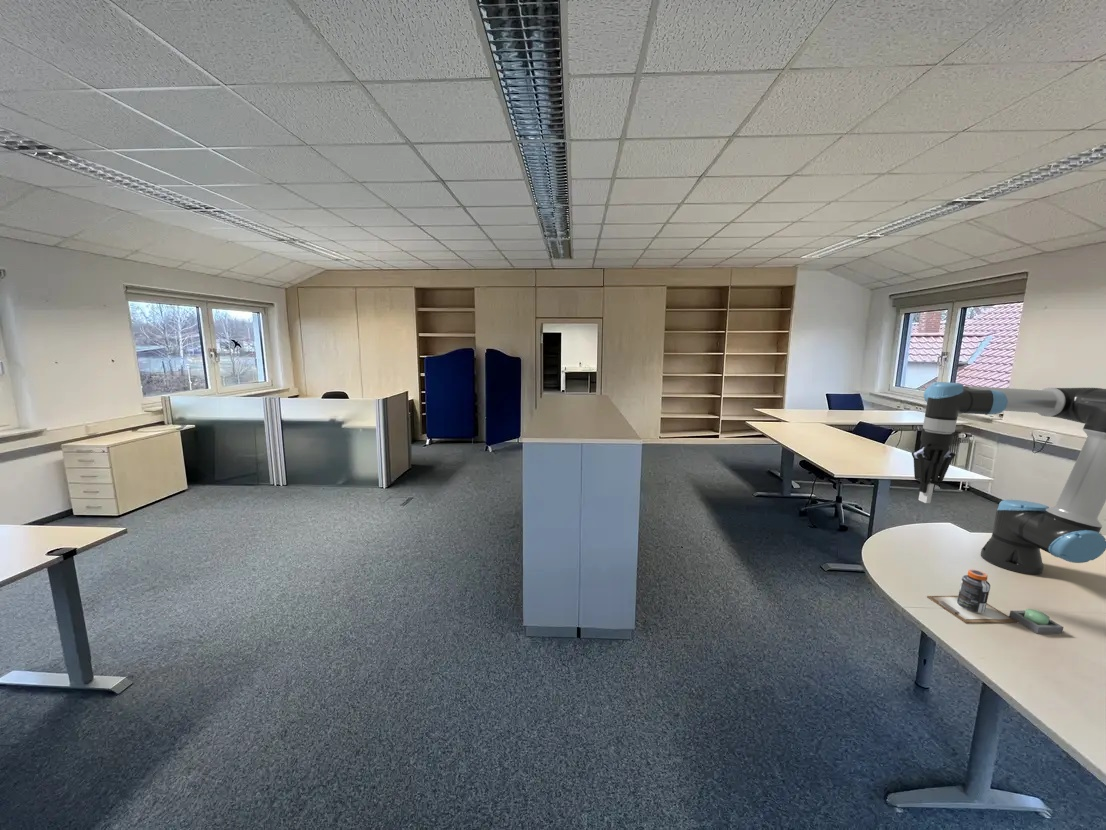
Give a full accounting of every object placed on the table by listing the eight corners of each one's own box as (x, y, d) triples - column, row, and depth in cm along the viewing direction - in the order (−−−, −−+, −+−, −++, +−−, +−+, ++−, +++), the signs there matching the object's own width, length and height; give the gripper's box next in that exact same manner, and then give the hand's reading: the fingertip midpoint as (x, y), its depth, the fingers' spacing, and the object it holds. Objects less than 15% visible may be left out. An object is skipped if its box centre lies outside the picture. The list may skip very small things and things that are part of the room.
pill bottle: (990, 615, 120) (998, 579, 118) (965, 612, 121) (973, 576, 119) (974, 602, 126) (982, 568, 124) (951, 599, 127) (958, 565, 125)
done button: (1033, 618, 119) (1035, 608, 119) (1052, 628, 115) (1054, 619, 114) (1018, 618, 119) (1020, 609, 118) (1036, 629, 115) (1039, 619, 114)
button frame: (1032, 616, 121) (1033, 610, 120) (1061, 633, 114) (1063, 627, 113) (1008, 616, 120) (1010, 610, 120) (1037, 633, 114) (1038, 627, 113)
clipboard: (973, 596, 130) (974, 593, 130) (1016, 622, 118) (1017, 619, 118) (926, 597, 129) (927, 594, 129) (965, 623, 117) (966, 620, 117)
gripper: (945, 428, 135) (931, 496, 140) (907, 428, 134) (895, 497, 139) (969, 434, 128) (954, 505, 133) (929, 434, 127) (916, 506, 132)
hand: (924, 501), depth 136 cm, fingers closed
